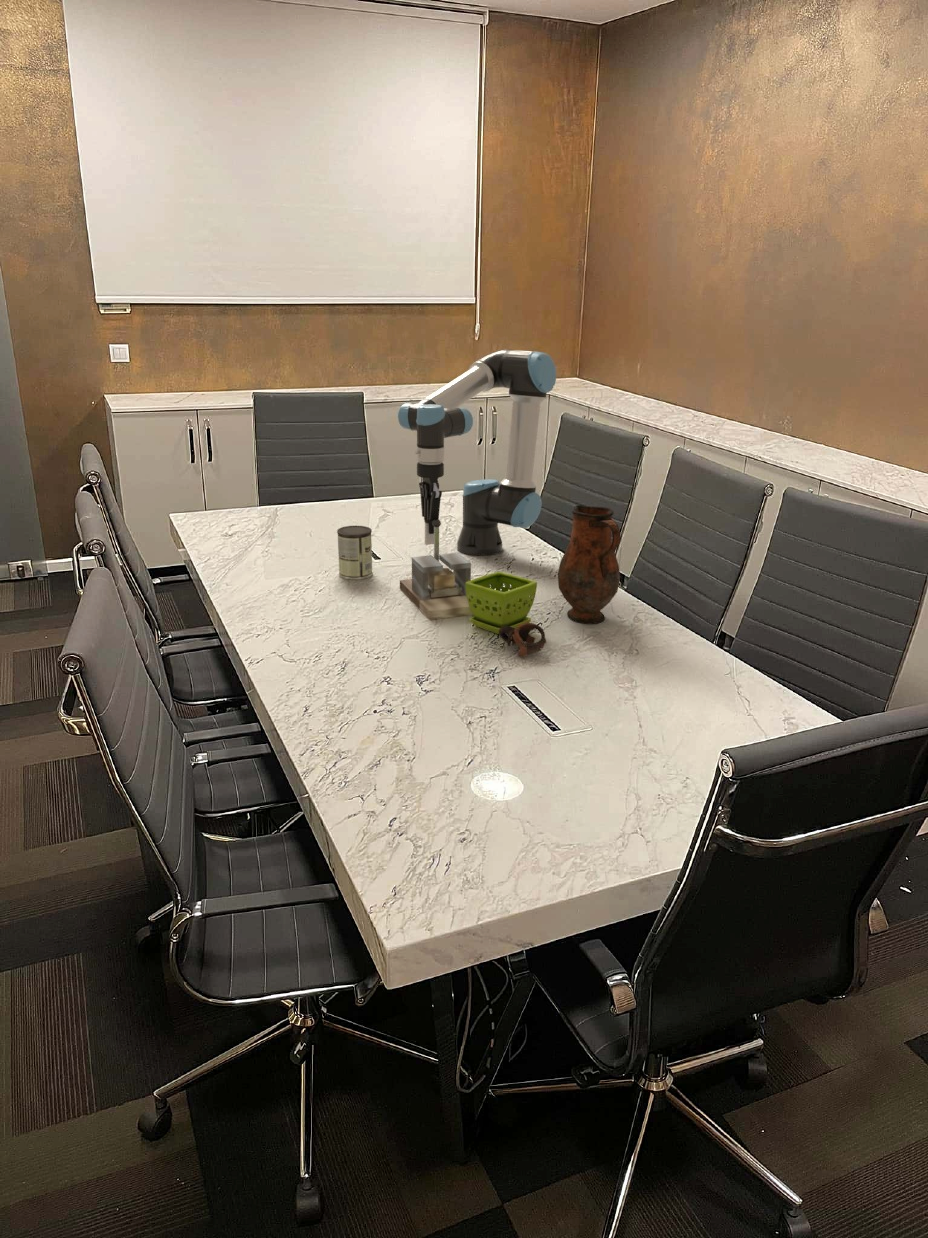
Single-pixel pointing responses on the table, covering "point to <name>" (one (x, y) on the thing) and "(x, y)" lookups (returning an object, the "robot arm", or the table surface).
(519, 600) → the flower pot
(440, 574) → the block
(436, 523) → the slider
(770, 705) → the table surface
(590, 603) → the pitcher
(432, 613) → the bench vise
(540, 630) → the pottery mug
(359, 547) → the coffee can
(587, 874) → the table surface
